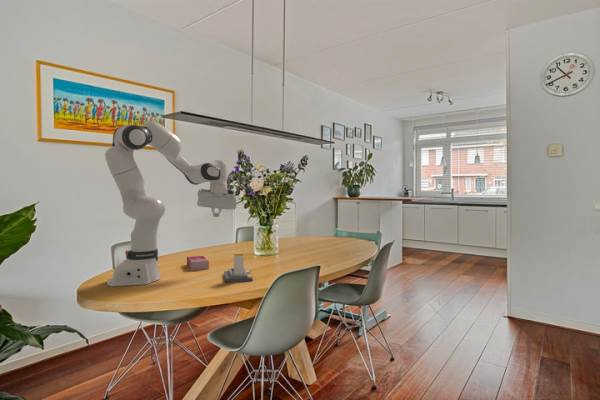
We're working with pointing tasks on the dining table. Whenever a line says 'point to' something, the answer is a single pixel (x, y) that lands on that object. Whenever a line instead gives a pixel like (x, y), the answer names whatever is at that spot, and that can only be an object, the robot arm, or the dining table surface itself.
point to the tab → (238, 263)
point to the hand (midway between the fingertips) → (215, 216)
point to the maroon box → (197, 263)
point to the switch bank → (241, 278)
